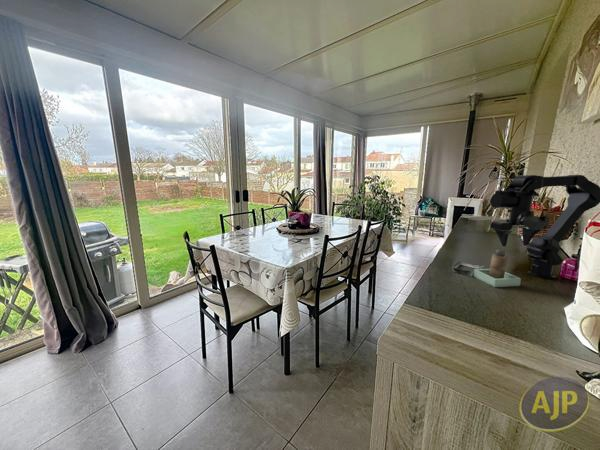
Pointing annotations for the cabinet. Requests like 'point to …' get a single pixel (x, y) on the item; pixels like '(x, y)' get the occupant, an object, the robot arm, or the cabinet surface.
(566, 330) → the cabinet surface
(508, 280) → the tray
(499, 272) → the pepper mill
